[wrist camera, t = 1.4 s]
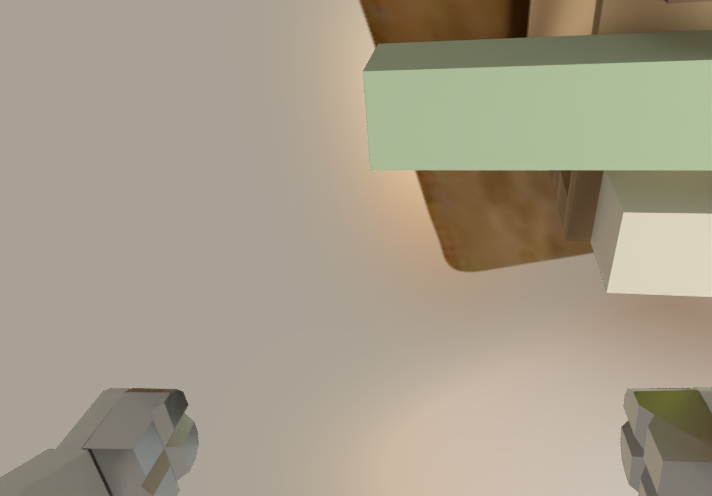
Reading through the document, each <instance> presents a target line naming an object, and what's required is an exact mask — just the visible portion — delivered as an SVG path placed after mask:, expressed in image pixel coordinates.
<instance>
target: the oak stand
mask: <svg viewBox="0 0 712 496" xmlns="http://www.w3.org/2000/svg"><path fill="white" fill-rule="evenodd" d="M695 30H712V1H707V2H688V3H666V2H665V1H663V0H529V11H528V23H527V34H526V38H530V37H553V36H577V35H601V34H624V33H648V32H672V31H695ZM549 173H550V177H551V181H552V184H553V188H554V192H555V196H556V200H557V204H558V208H559V212H560V216H561V220H562V224H563V228H564V232H565V236H566V240H567V241H590V242H591V237H592V231H593V226H594V220H595V215H596V209H597V204H598V198H599V193H600V187H601V182H602V176H603V170H549Z"/></svg>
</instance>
